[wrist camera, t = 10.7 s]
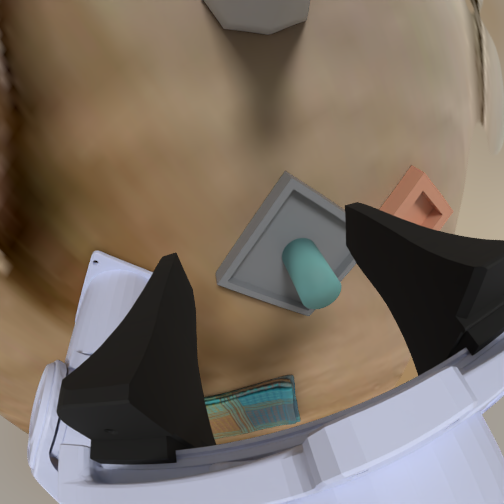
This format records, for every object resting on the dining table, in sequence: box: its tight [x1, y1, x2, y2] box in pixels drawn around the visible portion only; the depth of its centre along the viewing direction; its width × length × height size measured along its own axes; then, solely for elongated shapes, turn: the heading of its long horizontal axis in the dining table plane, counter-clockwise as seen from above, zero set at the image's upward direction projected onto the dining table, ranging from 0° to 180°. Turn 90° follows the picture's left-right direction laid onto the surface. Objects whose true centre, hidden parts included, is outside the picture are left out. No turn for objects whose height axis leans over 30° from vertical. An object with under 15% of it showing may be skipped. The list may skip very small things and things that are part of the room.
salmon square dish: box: [379, 165, 453, 231], centre depth 23 cm, size 7×7×2 cm
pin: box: [282, 238, 341, 309], centre depth 21 cm, size 3×3×5 cm
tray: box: [216, 171, 356, 316], centre depth 23 cm, size 10×10×2 cm
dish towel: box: [204, 375, 300, 439], centre depth 39 cm, size 17×23×2 cm
